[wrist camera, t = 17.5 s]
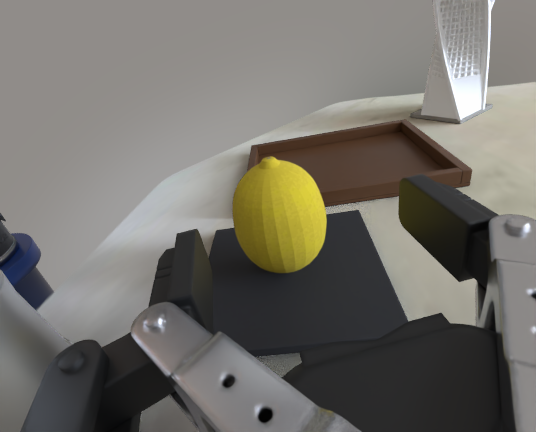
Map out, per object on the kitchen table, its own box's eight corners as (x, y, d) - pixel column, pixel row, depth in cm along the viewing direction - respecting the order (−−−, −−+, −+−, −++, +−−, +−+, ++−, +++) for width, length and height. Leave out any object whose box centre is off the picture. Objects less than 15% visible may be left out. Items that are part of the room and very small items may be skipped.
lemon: (332, 300, 18) (318, 174, 14) (240, 301, 20) (204, 186, 15) (330, 241, 23) (320, 134, 19) (256, 245, 24) (231, 145, 20)
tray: (244, 218, 29) (241, 204, 28) (253, 156, 42) (251, 145, 42) (470, 185, 27) (472, 169, 26) (405, 130, 40) (405, 119, 39)
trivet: (184, 363, 17) (181, 357, 17) (217, 235, 27) (215, 230, 27) (413, 341, 16) (414, 333, 16) (358, 215, 26) (358, 209, 26)
